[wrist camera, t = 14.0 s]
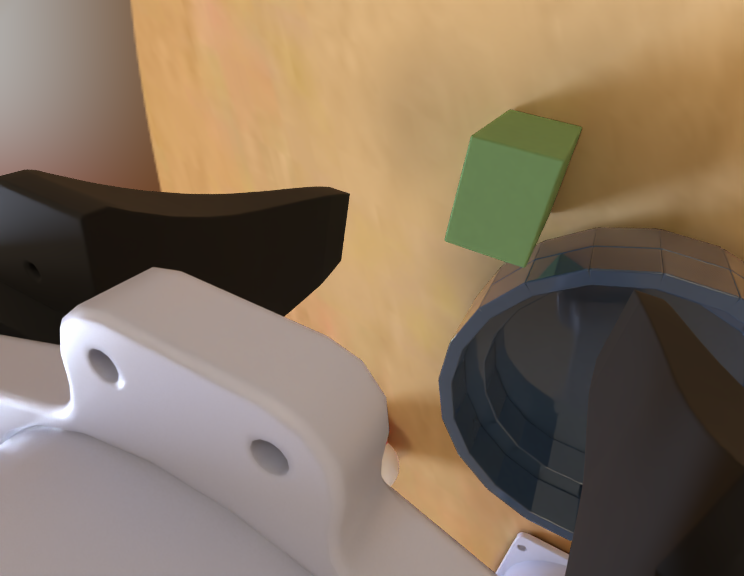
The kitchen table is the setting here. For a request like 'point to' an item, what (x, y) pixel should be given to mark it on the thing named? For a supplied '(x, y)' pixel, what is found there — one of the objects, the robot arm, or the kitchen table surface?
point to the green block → (510, 185)
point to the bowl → (570, 354)
